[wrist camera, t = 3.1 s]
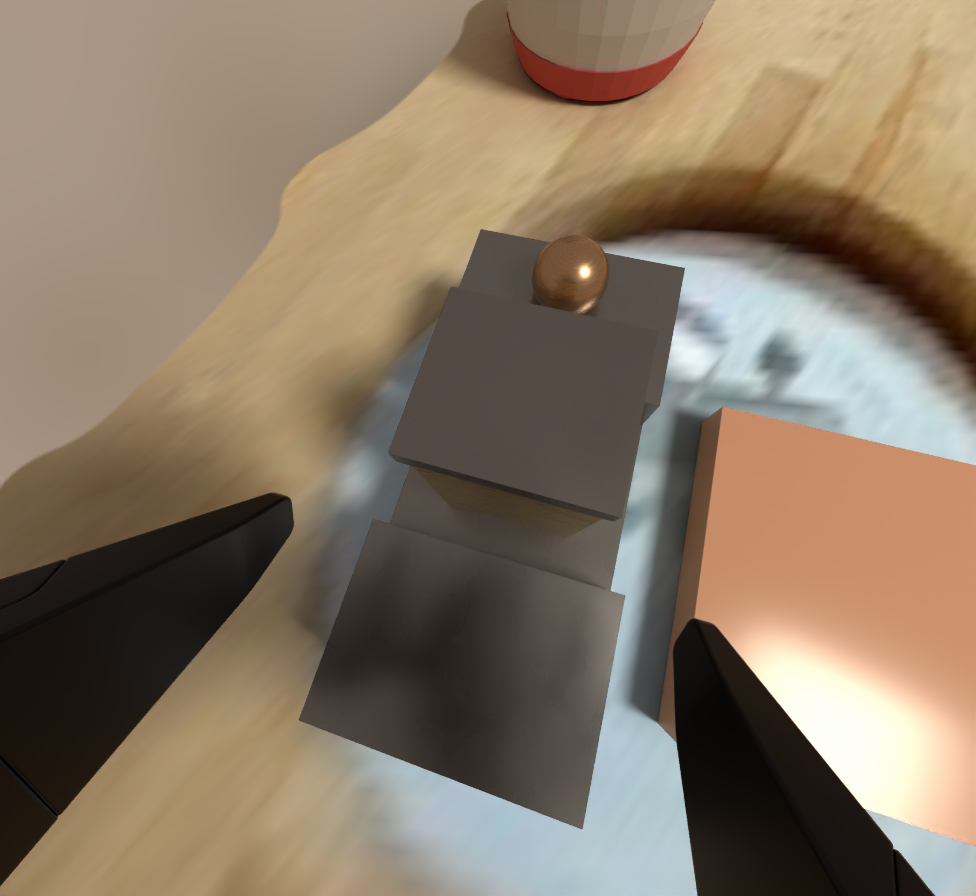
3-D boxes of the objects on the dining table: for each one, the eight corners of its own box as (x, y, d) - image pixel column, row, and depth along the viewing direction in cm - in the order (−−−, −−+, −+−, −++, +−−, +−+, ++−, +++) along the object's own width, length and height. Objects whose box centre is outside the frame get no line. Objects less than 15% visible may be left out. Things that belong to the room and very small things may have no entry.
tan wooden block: (565, 542, 15) (622, 517, 8) (445, 508, 16) (388, 453, 8) (589, 440, 17) (658, 330, 9) (476, 411, 17) (451, 287, 10)
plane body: (558, 745, 16) (602, 900, 9) (361, 674, 18) (248, 757, 10) (642, 340, 22) (714, 217, 14) (487, 307, 23) (476, 176, 15)
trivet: (1038, 852, 15) (1117, 895, 13) (657, 723, 16) (677, 743, 14) (1009, 495, 18) (1067, 486, 16) (702, 422, 20) (722, 406, 18)
